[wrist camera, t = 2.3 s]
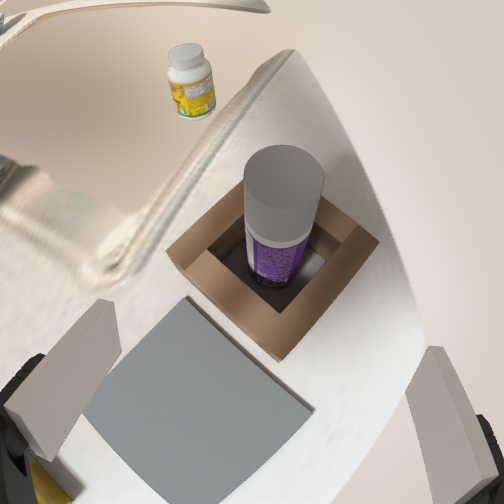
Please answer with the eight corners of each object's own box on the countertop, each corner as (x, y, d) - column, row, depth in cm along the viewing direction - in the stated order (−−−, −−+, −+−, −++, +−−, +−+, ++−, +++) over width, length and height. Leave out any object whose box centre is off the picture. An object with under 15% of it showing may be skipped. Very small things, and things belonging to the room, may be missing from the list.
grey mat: (79, 406, 26) (77, 406, 26) (184, 298, 30) (183, 297, 30) (193, 521, 22) (193, 523, 21) (312, 413, 26) (313, 413, 26)
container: (306, 264, 31) (342, 173, 17) (275, 300, 30) (291, 228, 16) (270, 235, 32) (277, 131, 19) (238, 268, 31) (223, 177, 17)
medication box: (0, 432, 24) (-22, 434, 20) (7, 420, 25) (-15, 421, 21) (65, 511, 21) (46, 521, 17) (74, 500, 22) (55, 511, 18)
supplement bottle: (220, 115, 39) (213, 56, 30) (180, 126, 38) (165, 68, 30) (211, 92, 41) (203, 36, 32) (174, 102, 40) (160, 47, 31)
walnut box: (178, 270, 31) (165, 251, 27) (266, 186, 35) (268, 157, 30) (278, 362, 28) (282, 360, 23) (363, 261, 31) (379, 241, 27)
